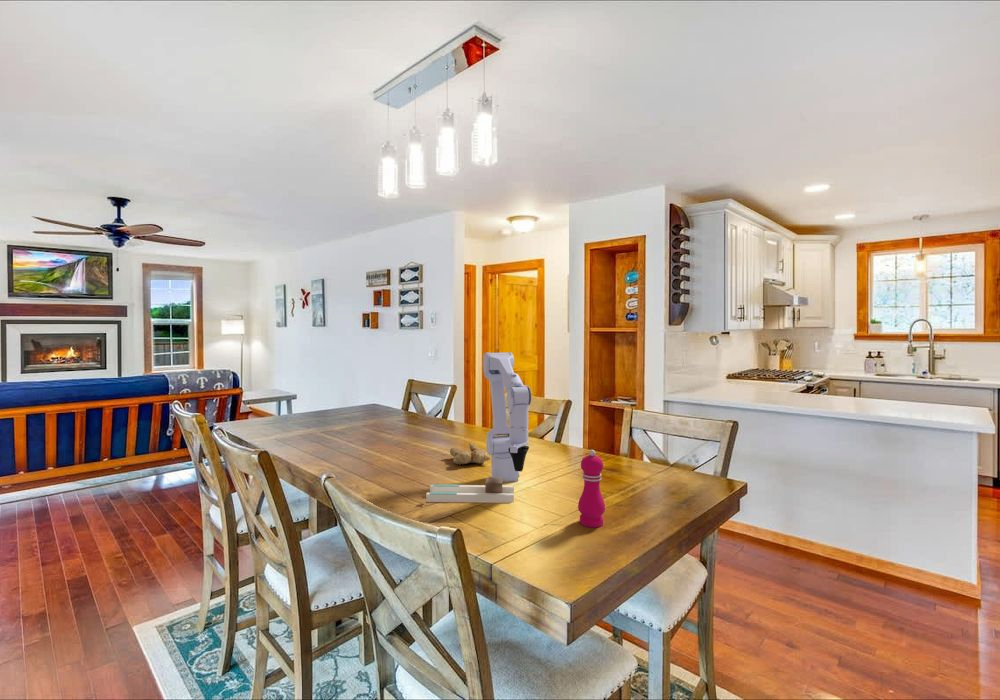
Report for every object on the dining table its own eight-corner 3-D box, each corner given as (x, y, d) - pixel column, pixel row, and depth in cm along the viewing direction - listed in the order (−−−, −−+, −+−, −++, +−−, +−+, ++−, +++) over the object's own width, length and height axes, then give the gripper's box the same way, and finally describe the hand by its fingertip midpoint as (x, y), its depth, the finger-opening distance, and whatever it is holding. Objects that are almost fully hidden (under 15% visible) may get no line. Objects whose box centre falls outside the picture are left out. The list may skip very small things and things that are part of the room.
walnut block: (502, 493, 156) (502, 478, 156) (502, 499, 151) (502, 483, 151) (486, 493, 156) (486, 477, 156) (485, 499, 151) (485, 483, 151)
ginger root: (490, 465, 186) (485, 444, 186) (449, 475, 186) (443, 454, 186) (492, 456, 202) (487, 436, 201) (454, 465, 202) (449, 445, 202)
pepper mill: (586, 515, 141) (587, 445, 140) (609, 522, 137) (610, 449, 135) (572, 523, 136) (573, 450, 134) (596, 530, 131) (597, 454, 130)
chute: (513, 494, 159) (513, 484, 158) (513, 505, 149) (513, 495, 148) (431, 493, 159) (431, 483, 159) (425, 504, 149) (425, 494, 149)
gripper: (511, 421, 160) (511, 463, 161) (499, 430, 146) (499, 476, 147) (533, 422, 159) (533, 464, 159) (523, 431, 145) (523, 478, 145)
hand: (518, 470), depth 153 cm, fingers closed
